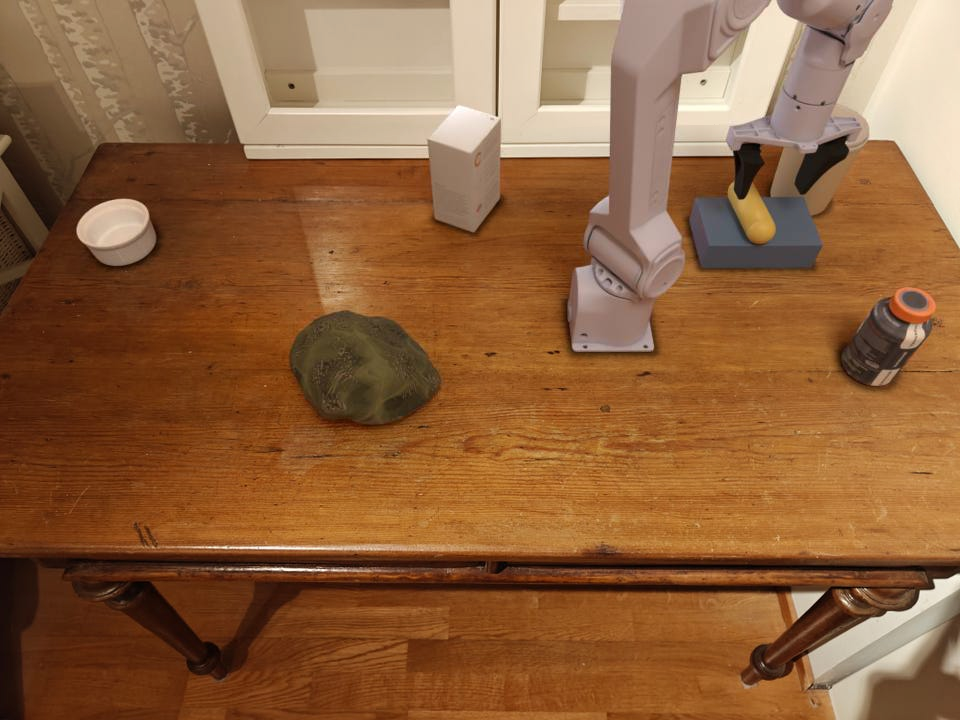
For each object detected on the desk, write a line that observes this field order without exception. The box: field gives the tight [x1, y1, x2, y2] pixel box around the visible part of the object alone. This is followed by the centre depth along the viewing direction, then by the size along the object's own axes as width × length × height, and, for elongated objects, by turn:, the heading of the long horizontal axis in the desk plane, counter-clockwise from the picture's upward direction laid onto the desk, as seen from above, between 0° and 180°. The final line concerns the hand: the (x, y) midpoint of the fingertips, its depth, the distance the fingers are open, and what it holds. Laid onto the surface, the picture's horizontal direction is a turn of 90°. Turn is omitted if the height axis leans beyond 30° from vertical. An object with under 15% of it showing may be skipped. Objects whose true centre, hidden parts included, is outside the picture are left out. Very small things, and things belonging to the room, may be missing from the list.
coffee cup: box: [769, 103, 870, 217], centre depth 92 cm, size 9×9×12 cm
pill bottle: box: [840, 286, 937, 387], centre depth 75 cm, size 6×6×11 cm
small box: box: [426, 105, 502, 233], centre depth 91 cm, size 8×6×13 cm
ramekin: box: [75, 198, 157, 267], centre depth 91 cm, size 9×9×4 cm
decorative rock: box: [288, 309, 442, 426], centre depth 75 cm, size 15×16×10 cm
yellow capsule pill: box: [727, 180, 776, 244], centre depth 87 cm, size 10×3×3 cm
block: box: [688, 196, 824, 269], centre depth 90 cm, size 14×9×4 cm, turn 90°
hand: (769, 191), depth 85 cm, fingers open, 7 cm apart
